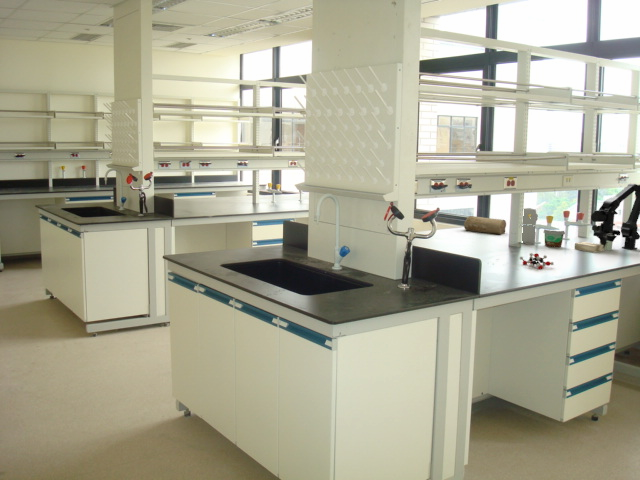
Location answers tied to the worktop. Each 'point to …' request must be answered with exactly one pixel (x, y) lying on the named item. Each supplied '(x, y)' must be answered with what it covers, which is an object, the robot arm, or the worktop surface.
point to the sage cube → (608, 245)
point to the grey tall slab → (529, 231)
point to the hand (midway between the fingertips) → (605, 247)
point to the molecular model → (537, 261)
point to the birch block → (589, 247)
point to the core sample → (485, 225)
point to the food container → (553, 238)
